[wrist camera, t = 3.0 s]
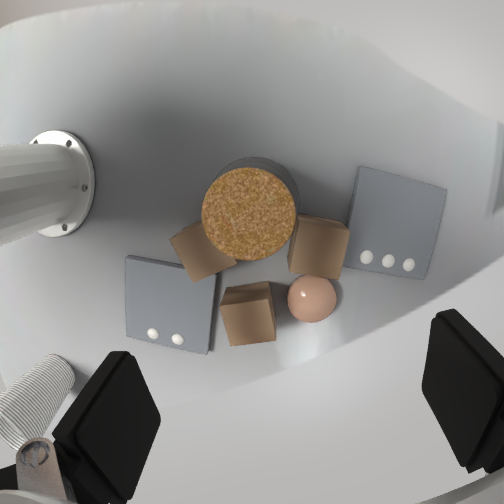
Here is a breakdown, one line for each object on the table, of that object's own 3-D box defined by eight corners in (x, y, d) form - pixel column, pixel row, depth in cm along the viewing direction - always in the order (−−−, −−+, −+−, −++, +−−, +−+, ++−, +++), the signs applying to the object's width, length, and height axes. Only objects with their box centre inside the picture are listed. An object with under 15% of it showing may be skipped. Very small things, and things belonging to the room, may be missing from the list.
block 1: (203, 266, 33) (193, 283, 28) (183, 228, 31) (169, 239, 27) (242, 249, 32) (237, 263, 27) (222, 209, 31) (213, 217, 26)
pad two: (129, 332, 35) (126, 336, 34) (129, 255, 33) (125, 258, 32) (208, 350, 35) (206, 355, 34) (217, 271, 32) (215, 275, 31)
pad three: (338, 263, 31) (340, 266, 30) (358, 165, 28) (361, 166, 27) (420, 276, 31) (424, 280, 30) (442, 188, 28) (447, 189, 27)
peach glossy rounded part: (282, 311, 33) (283, 318, 32) (292, 268, 32) (293, 273, 31) (326, 318, 33) (329, 325, 32) (338, 276, 32) (342, 282, 30)
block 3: (287, 256, 32) (289, 272, 27) (295, 212, 30) (299, 221, 26) (330, 263, 32) (338, 279, 27) (339, 221, 30) (350, 231, 26)
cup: (38, 337, 38) (-24, 395, 23) (83, 362, 38) (26, 432, 23) (42, 375, 40) (-9, 432, 25) (83, 398, 40) (37, 465, 25)
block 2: (235, 324, 34) (230, 346, 30) (226, 287, 33) (219, 306, 29) (276, 318, 34) (276, 340, 29) (268, 280, 32) (267, 298, 28)
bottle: (297, 210, 30) (318, 257, 16) (238, 225, 31) (208, 282, 17) (282, 152, 29) (291, 142, 14) (222, 167, 29) (175, 174, 15)
